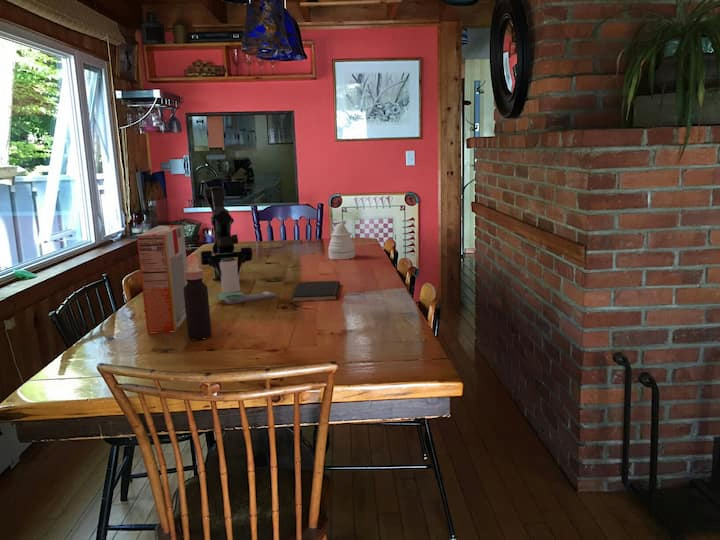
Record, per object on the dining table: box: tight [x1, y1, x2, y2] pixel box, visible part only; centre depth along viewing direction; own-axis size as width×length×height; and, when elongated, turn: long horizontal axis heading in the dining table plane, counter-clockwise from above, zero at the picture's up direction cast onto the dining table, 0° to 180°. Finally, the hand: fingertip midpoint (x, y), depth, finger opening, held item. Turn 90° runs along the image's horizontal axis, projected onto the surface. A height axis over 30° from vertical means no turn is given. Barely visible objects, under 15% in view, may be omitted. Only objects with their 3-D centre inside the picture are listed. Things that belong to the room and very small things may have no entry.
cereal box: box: [136, 224, 189, 334], centre depth 191 cm, size 23×8×30 cm, turn 2°
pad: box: [217, 291, 245, 302], centre depth 224 cm, size 9×9×1 cm
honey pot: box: [327, 220, 356, 260], centre depth 292 cm, size 13×13×18 cm
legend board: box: [223, 291, 277, 305], centre depth 219 cm, size 18×6×1 cm, turn 116°
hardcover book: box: [291, 280, 341, 302], centre depth 225 cm, size 16×23×2 cm
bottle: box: [183, 268, 213, 340], centre depth 175 cm, size 7×7×20 cm
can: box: [220, 258, 241, 294], centre depth 223 cm, size 6×6×12 cm
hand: (229, 274), depth 221 cm, fingers closed on can, 6 cm apart
